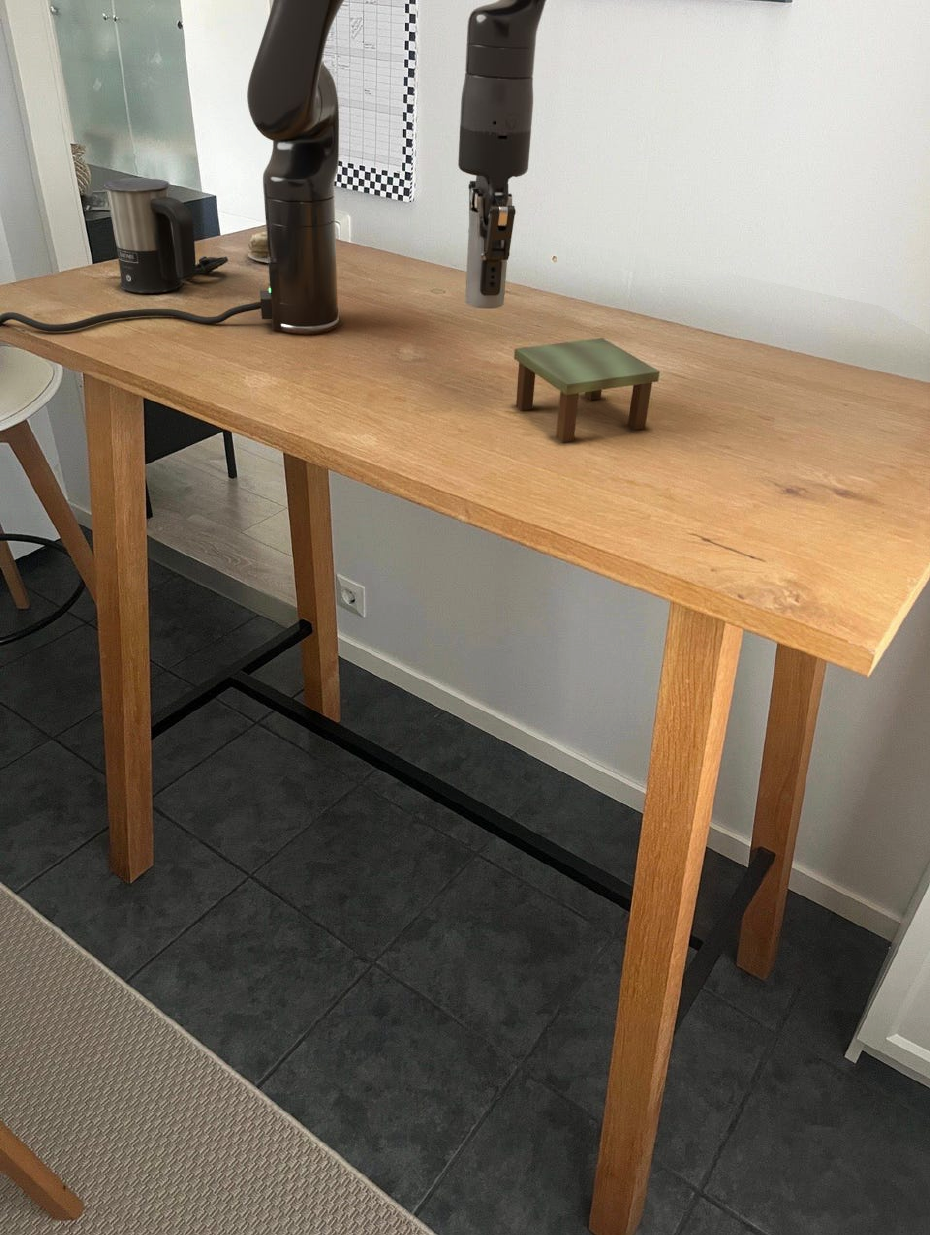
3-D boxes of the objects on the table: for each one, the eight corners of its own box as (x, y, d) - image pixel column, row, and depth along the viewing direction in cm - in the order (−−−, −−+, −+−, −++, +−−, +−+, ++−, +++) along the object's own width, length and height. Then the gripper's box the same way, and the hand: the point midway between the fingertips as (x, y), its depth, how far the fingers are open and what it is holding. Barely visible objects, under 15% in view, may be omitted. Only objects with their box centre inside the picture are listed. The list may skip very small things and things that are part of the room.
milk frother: (108, 291, 149) (91, 186, 140) (158, 265, 161) (145, 167, 153) (195, 301, 146) (183, 195, 138) (239, 274, 159) (230, 175, 151)
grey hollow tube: (463, 296, 116) (468, 203, 110) (501, 298, 116) (508, 205, 110) (466, 308, 112) (471, 213, 106) (505, 309, 112) (513, 214, 106)
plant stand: (560, 445, 109) (567, 384, 105) (510, 405, 118) (514, 348, 114) (650, 429, 113) (659, 371, 109) (595, 393, 122) (602, 337, 118)
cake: (267, 251, 174) (267, 218, 171) (317, 260, 171) (317, 227, 168) (235, 258, 166) (234, 224, 163) (286, 268, 163) (286, 234, 160)
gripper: (449, 112, 108) (443, 270, 118) (473, 133, 97) (463, 307, 107) (515, 114, 110) (504, 270, 119) (546, 136, 98) (531, 307, 108)
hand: (485, 287), depth 113 cm, fingers closed on grey hollow tube, 4 cm apart
